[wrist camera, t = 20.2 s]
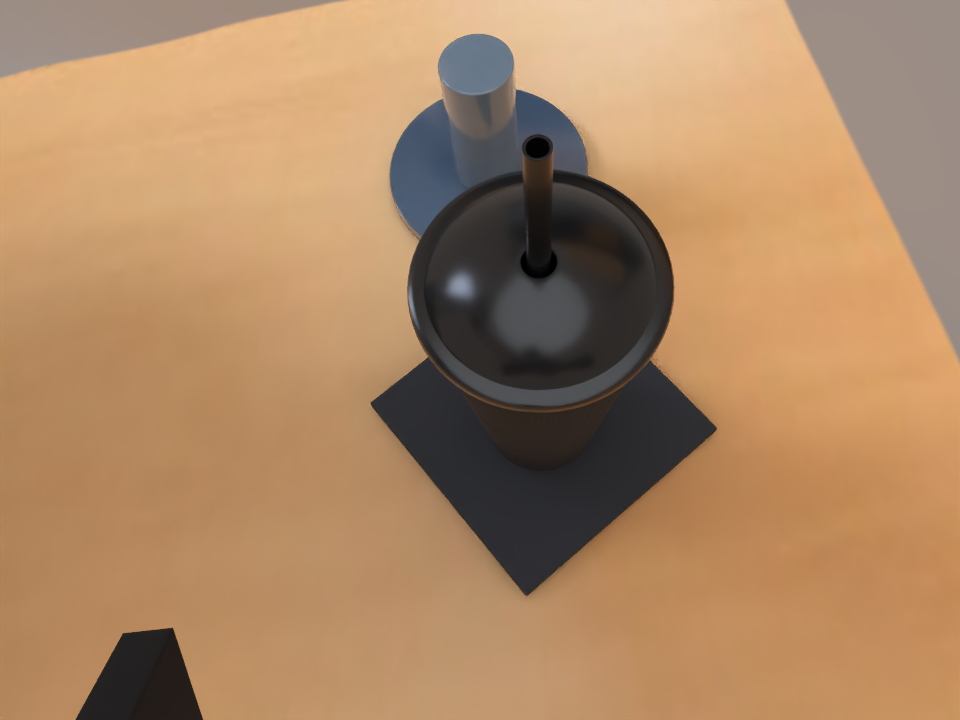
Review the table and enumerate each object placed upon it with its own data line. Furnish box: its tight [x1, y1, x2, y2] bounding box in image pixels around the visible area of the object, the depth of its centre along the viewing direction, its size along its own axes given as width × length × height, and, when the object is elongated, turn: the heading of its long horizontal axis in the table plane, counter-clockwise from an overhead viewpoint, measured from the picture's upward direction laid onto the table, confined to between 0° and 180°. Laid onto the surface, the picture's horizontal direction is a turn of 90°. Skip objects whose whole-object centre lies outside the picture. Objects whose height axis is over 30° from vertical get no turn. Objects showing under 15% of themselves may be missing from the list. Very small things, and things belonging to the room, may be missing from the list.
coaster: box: [371, 357, 717, 596], centre depth 36 cm, size 11×11×1 cm
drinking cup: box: [407, 134, 674, 470], centre depth 26 cm, size 8×8×20 cm
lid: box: [390, 34, 587, 240], centre depth 37 cm, size 10×10×8 cm
